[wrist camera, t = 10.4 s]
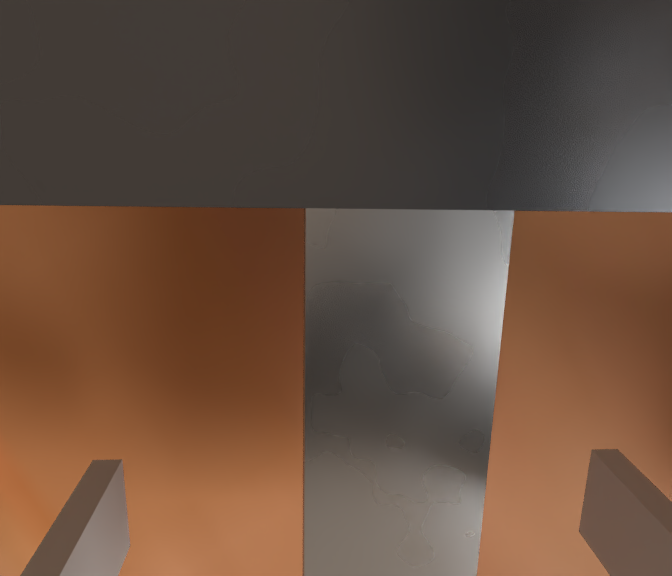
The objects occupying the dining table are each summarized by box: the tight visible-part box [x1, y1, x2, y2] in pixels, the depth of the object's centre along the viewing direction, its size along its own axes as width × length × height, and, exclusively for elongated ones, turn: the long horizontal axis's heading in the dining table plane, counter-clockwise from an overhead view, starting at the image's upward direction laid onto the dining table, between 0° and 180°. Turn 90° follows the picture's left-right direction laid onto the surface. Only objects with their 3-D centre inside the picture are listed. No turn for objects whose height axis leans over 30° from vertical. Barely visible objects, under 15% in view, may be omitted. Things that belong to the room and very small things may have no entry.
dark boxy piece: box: [0, 0, 672, 212], centre depth 11 cm, size 4×10×12 cm, turn 89°
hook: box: [303, 208, 514, 576], centre depth 11 cm, size 20×4×6 cm, turn 179°
